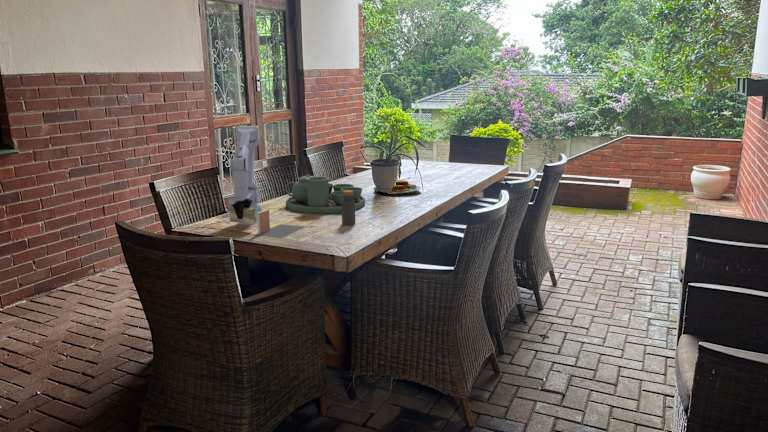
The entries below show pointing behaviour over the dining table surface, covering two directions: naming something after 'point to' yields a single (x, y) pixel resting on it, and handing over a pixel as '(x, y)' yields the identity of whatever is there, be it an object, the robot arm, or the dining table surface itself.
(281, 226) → the mat
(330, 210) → the tea set
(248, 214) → the beige rectangular block
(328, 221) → the dining table surface
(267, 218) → the tile
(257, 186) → the robot arm
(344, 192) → the bottle
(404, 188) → the food on plate
